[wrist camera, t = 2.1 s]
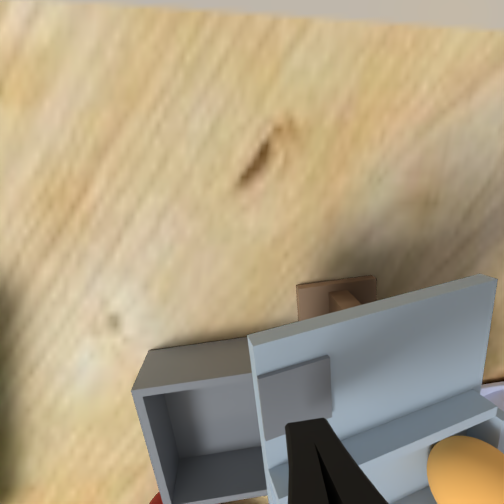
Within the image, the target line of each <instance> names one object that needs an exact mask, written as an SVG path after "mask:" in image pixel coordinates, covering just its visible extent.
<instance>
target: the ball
mask: <svg viewBox="0 0 504 504" xmlns="http://www.w3.org/2000/svg"><path fill="white" fill-rule="evenodd" d="M427 478H428V483H429V486H430V489H431V492H432V494H433V496H434V498H435V500H436V502H437V504H504V454H503V453H502V452H501V451H500V450H498V449H497V448H495V447H494V446H492V445H490V444H488V443H486V442H484V441H482V440H480V439H477V438H473V437H469V436H461V435H460V436H450V437H447V438H445V439H442V440H441V441H439V442H438V443H437V444H436V445H435V446H434V447H433V448H432V450H431V451H430V454H429V457H428V460H427Z"/></svg>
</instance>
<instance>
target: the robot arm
mask: <svg viewBox="0 0 504 504" xmlns="http://www.w3.org/2000/svg"><path fill="white" fill-rule="evenodd" d="M480 395H482V396H483V397H485V398H486V399H488V400H489V401H491V402H492V403H493V404H495V405H496V406H498V408H499V409H501V410H502V411H504V381H502V382H496V383H489V384H483V385H481V391H480ZM285 435H286V445H287V456H288V466H289V479H288V504H389V503H388V502H387V501H386V500H385V499H384V497H383V496H382V495H381V494H380V493H379V491H378V490H377V489H376V488H375V486H374V485H373V484H372V482H371V481H370V480H369V479H368V477H367V476H366V475H365V474H364V472H363V471H362V470H361V468H360V467H359V466H358V464H357V463H356V462H355V460H354V459H353V458H352V456H351V455H350V454H349V452H348V451H347V449H346V448H345V447H344V445H343V444H342V442H341V441H340V439H339V438H338V436H337V435H336V433H335V432H334V430H333V429H332V427H331V426H330V424H329V422H328V421H327V419H325V418H324V417H323V418H317V419H311V420H304V421H298V422H291V423H287V424H286V425H285Z"/></svg>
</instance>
